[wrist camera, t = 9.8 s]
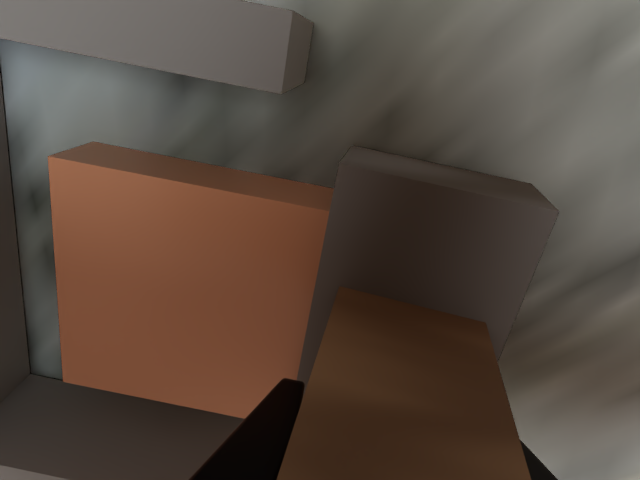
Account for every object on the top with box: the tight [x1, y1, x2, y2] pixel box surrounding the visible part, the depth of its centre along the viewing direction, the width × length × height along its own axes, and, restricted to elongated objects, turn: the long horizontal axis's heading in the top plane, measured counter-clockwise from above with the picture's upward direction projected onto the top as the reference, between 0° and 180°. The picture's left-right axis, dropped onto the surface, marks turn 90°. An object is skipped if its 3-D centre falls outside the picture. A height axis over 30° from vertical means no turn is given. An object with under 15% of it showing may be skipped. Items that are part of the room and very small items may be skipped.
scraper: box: [277, 146, 559, 480], centre depth 8 cm, size 4×8×8 cm, turn 170°
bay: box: [0, 0, 314, 480], centre depth 10 cm, size 8×12×3 cm, turn 170°
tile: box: [48, 142, 334, 419], centre depth 11 cm, size 6×6×2 cm
